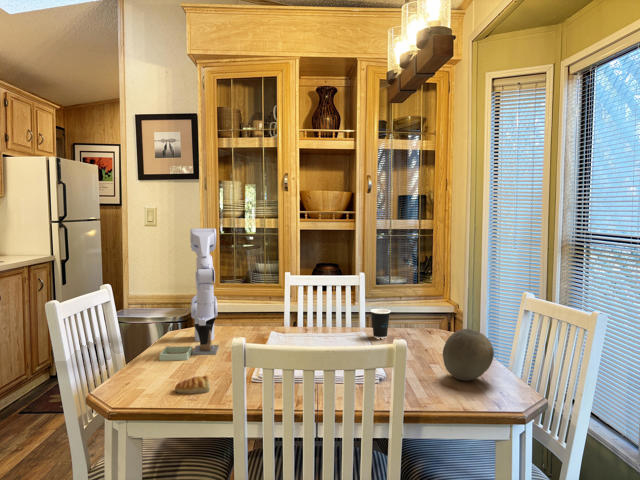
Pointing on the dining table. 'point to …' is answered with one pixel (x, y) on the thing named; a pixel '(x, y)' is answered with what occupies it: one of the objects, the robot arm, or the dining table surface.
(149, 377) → the dining table surface
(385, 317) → the dixie cup
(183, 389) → the pastry
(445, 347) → the cantaloupe
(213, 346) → the socket block
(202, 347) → the strut
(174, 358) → the bin
